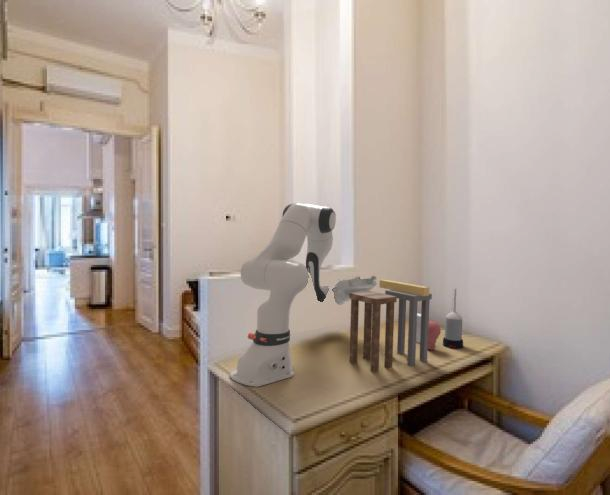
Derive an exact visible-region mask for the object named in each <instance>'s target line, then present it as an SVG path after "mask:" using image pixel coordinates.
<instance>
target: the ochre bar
mask: <svg viewBox="0 0 610 495" xmlns="http://www.w3.org/2000/svg"><path fill="white" fill-rule="evenodd" d="M378 284H379V288H382V289H386V290H395V291H401V292H406V293H411V294H416V295H421V296H428V295H429V293H430V286H424V285H419V284H412V283H409V282H408V283H406V282H403V281H402V282H401V281H396V280H389V279H379V283H378Z"/></svg>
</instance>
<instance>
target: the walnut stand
mask: <svg viewBox="0 0 610 495" xmlns="http://www.w3.org/2000/svg"><path fill="white" fill-rule="evenodd" d="M349 298H350V299H351V300H350V326H349V327H350V330H349V331H350V332H349V362H350V363H351V364H355V363H357V362H358V343H359V341H358V339H359V311H360V310H359V307H360V305H359V304H360V303H359V302H362V303H364V314H363V315H364V316H363V317H364V318H363V349H362V350H363V352H362V359H364V360H370V372H372V373H374V374H375V373H378V372H379V370H380V369H379V368H380V367H379V366H380V339H381V337H380V336H381V305H385V307H386V308H385V331H384V332H385V333H384V336H385V337H384V361H383V362H384V364H383V366H384V368H386V369H391V368H392V369H393V358H394V355H393V354H394V351H393V350H394V330H395V329H394V327H395V326H394V325H395V303H397V299H398V298H397V297H396V296H392V295H387V294H385V293H381V292H376V291H372V290H369V291H362V292H353V293H349Z"/></svg>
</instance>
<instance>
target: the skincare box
mask: <svg viewBox="0 0 610 495" xmlns="http://www.w3.org/2000/svg"><path fill="white" fill-rule="evenodd" d="M420 334H421V313H418V312H417V329H416V343H418V344H420Z"/></svg>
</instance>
